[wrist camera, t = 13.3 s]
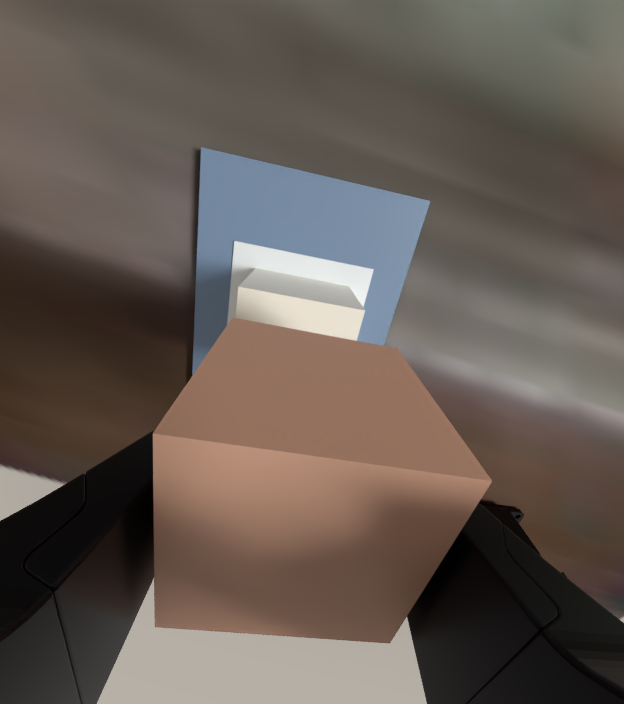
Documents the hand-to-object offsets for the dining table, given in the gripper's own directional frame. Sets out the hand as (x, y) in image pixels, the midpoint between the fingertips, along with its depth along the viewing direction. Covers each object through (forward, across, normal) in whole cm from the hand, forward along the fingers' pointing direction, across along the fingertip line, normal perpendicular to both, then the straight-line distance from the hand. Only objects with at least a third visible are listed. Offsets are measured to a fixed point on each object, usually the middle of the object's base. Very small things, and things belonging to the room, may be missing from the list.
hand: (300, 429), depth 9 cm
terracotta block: (+1, 0, 0) cm, 1 cm away
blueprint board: (+11, 0, 0) cm, 11 cm away
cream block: (+10, 0, 0) cm, 11 cm away
